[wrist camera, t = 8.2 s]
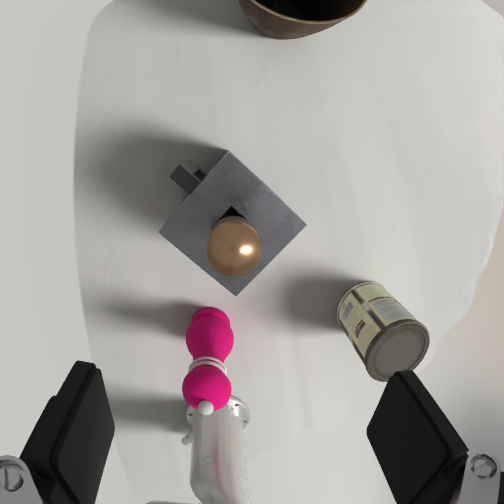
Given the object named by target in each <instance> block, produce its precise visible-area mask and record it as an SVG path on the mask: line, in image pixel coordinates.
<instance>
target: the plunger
mask: <svg viewBox="0 0 504 504" xmlns="http://www.w3.org/2000/svg"><path fill="white" fill-rule="evenodd" d="M211 228H212V229H211V231H210V235H209V240H208V245H207V257H208V260H209V262H210V264H211V266H212V267H213V268H214V269H215V270H216V271H217V272H219V273H220V274H222V275H225V276H228V277H240V276H243V275H246V274H248V273H250V272H251V271H252V270H253V269H254V268H255V267H256V266H257V265H258V263H259V261H260V258H261V254H262V247H261V243H260V240H259V237H258V234H257V232H256V229H255V227H254V226H253V224H251V223H250V222H249V221H248V220H247V219H246V218H245V217H244V216H243V215H241V214H240V213H239V212H238V211H237V210H236V209H235V208H234V207H233V206H231V207H230V208H229V209H228V210H227V211H226V212H225V213H224V214H223V215H222V216H221V218H220V219H219V220H218V221H217V222H216V223H215V224H214V225H213V226H212V227H211Z"/></svg>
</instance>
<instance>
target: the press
mask: <svg viewBox="0 0 504 504" xmlns="http://www.w3.org/2000/svg"><path fill="white" fill-rule="evenodd" d="M170 177H171V178H172V179H173V180H174V181H175V182H176V183H177V184H179V185H180V186H181V187H182V188H183V189H184V190H185V191H187V192H188V193H189V195H188V196H187V197H186V198H185V199H184V200H183V201H182V203H181V204H180V205H179V206H178V208H177V209H176V210H175V211H174V213H173V214H172V215H171V216H170V218H169V219H168V220H167V222H166V223H165V224H164V225H163V227H162V228H161V229H160V231H159V233H160V234H161V235H162V236H163V237H165V238H166V239H167V240H168V241H169V242H171V243H172V244H173V245H174V246H175V247H176V248H178V249H179V250H180V251H181V252H182V253H184V254H185V255H186V256H187V257H188V258H190V259H191V260H192V261H193V262H194V263H196V264H197V265H198V266H199V267H200V268H202V269H203V270H204V271H205V272H207V273H208V274H209V275H210V276H211V277H213V278H214V279H215V280H216V281H218V282H219V283H220V284H221V285H223V286H224V287H225V288H226V289H228V290H229V291H230V292H231V293H232V294H234V295H235V296H237V295H238V294H239V293H240V292H241V291H242V290H243V289H244V288H245V287H246V286H247V285H248V284H249V283H250V282H251V281H252V280H253V279H254V278H255V277H256V276H257V275H258V274H259V273H260V272H261V271H262V270H263V269H264V268H265V267H266V266H267V265H268V264H269V263H270V262H271V261H272V260H273V259H274V258H275V257H276V256H277V255H278V254H279V253H280V252H281V251H282V249H283V248H284V247H285V246H286V245H287V244H288V243H289V242H290V241H291V240H292V239H293V238H294V237H295V236H296V235H297V234H298V233H299V232H300V231H301V230H302V229H303V228H304V227H305V226H306V225H307V224H306V223H305V222H304V221H303V220H302V219H301V218H300V217H298V216H297V215H296V214H295V213H294V212H293V211H292V210H291V209H290V208H289V207H288V206H287V205H286V204H285V203H284V202H283V201H282V200H281V199H280V198H279V197H278V196H277V195H276V194H275V193H274V192H273V191H272V190H271V189H270V188H269V187H268V186H266V185H265V184H264V183H263V182H262V181H261V180H260V179H259V178H258V177H257V176H256V175H255V174H254V173H253V172H251V171H250V170H249V169H248V168H247V167H246V166H245V165H244V164H243V163H242V162H241V161H239V160H238V159H237V158H236V157H235V156H234V155H233V154H232V153H231V152H230V151H228V152H227V153H226V154H225V155H224V156H223V157H222V158H221V159H220V160H219V161H218V162H217V163H216V165H215V166H214V167H213V168H212V169H211V170H210V171H209V172H208V173H207V174H206V173H205V172H204V171H202V170H201V169H200V168H199V167H198V166H197V165H196V164H194V163H193V162H192V161H188V162H185V163H183V164H180V165H179V166H178V167H177V168H176V170H175V171H174V172H173V173H172V174H171V175H170ZM231 206H233V207H234V208H235V209H236V210H237V211H238V212H239V213H240V214H241V215H243V216H244V217H245V218H246V219H247V220H248V221H249V222H250V223H251V224H253V226H254V227H255V229H256V232H257V234H258V237H259V240H260V243H261V247H262V254H261V258H260V261H259V263H258V265H257V266H256V267H255V268H254V269H253V270H252V271H251V272H250V273H248V274H246V275H243V276H240V277H228V276H225V275H222V274H220V273H219V272H217V271H216V270H215V269H214V268H213V267H212V266H211V264H210V262H209V260H208V257H207V245H208V240H209V235H210V231H211V229H212V228H211V227H212V226H213V225H214V224H215V223H216V222H217V221H218V220H219V219H220V218H221V216H222V215H223V214H224V213H225V212H226V211H227V210H228V209H229V208H230V207H231Z"/></svg>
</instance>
